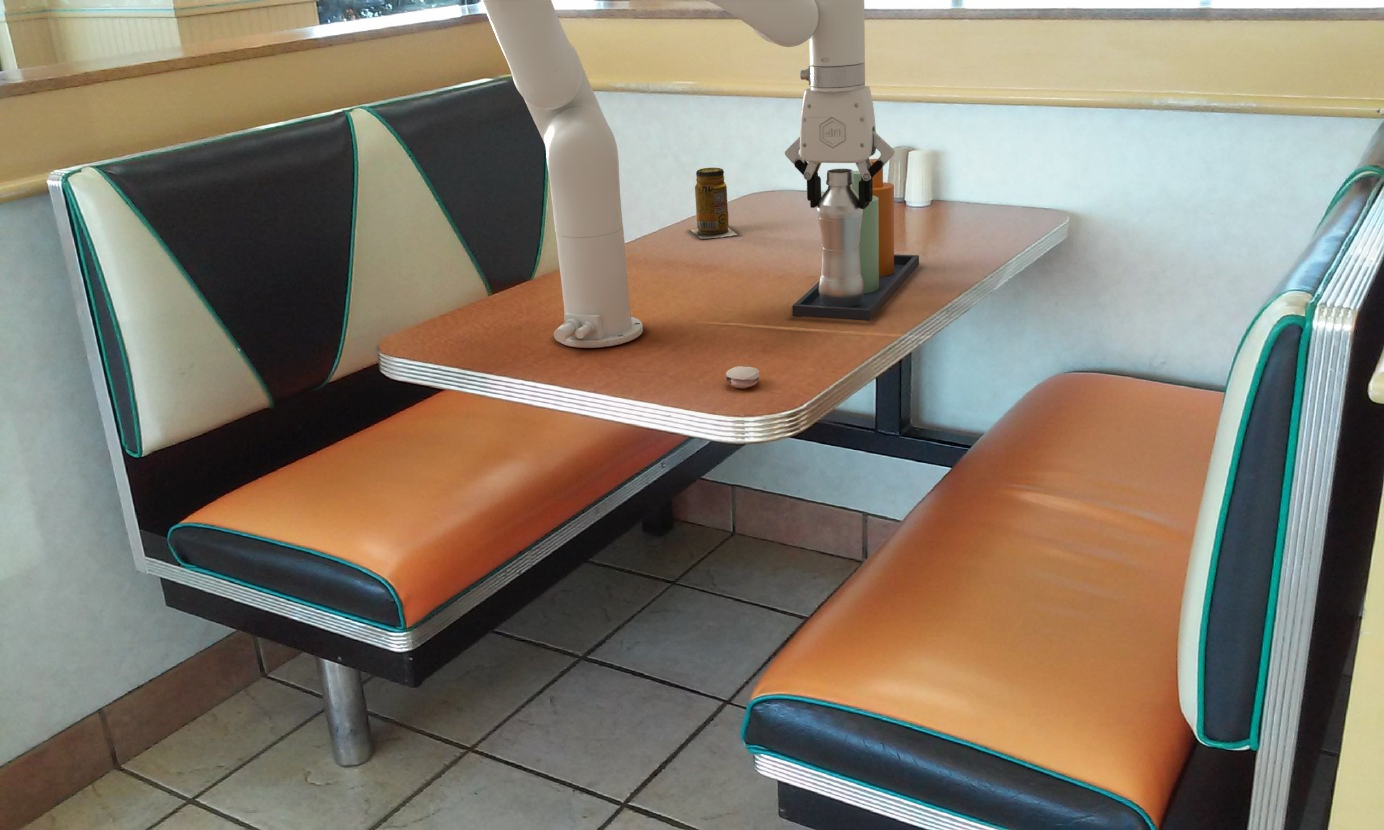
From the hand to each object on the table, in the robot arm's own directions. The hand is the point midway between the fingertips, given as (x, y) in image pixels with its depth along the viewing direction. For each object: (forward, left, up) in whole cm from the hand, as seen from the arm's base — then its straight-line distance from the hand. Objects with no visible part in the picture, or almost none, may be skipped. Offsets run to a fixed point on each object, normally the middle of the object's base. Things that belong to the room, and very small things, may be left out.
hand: (839, 205), depth 168 cm
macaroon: (-32, +3, -16) cm, 36 cm away
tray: (+10, 0, -16) cm, 18 cm away
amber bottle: (+19, 0, -15) cm, 24 cm away
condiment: (+43, +38, -16) cm, 59 cm away
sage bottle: (+10, 0, -15) cm, 18 cm away
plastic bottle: (0, 0, -15) cm, 15 cm away
